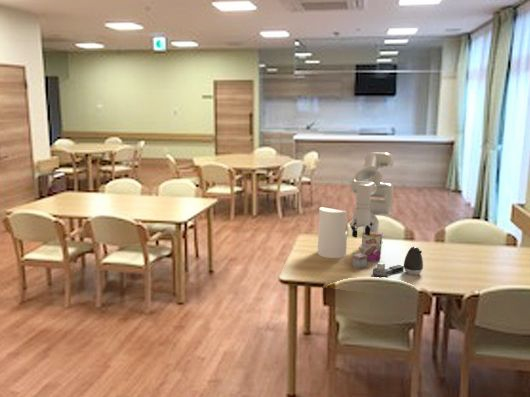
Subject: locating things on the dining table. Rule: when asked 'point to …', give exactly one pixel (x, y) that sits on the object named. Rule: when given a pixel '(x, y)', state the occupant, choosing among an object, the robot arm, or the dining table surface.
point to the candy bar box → (372, 245)
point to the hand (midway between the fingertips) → (360, 235)
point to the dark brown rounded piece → (413, 261)
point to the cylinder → (332, 233)
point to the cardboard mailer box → (359, 261)
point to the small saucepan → (386, 270)
